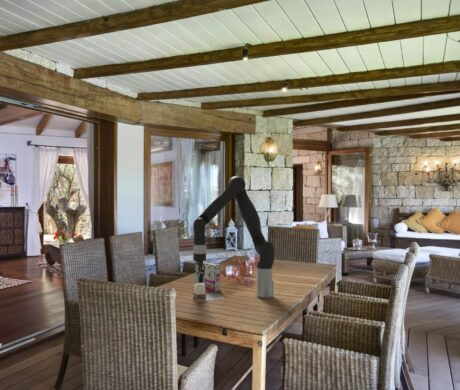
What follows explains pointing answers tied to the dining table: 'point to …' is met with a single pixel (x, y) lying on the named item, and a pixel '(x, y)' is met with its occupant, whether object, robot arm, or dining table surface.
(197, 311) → the dining table surface
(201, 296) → the walnut base
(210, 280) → the candy bar box
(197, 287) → the cream cube
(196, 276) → the teal cube
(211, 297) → the board
